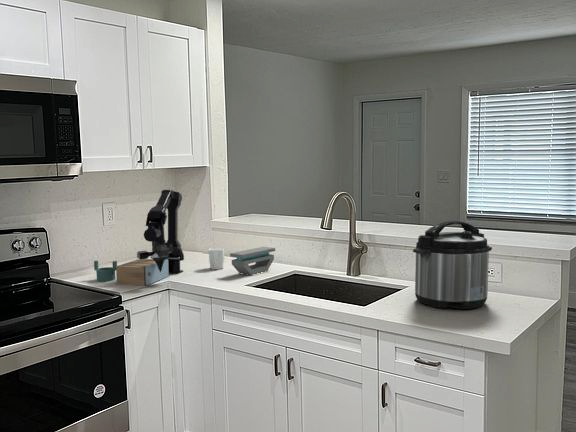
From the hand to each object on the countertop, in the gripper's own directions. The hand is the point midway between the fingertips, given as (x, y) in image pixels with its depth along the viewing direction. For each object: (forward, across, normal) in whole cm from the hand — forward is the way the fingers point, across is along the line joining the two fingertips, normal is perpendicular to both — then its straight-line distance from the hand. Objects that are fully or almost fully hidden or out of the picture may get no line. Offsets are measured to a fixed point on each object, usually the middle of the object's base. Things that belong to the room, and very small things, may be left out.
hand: (160, 271), depth 263 cm
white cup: (+7, +34, +18) cm, 40 cm away
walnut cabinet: (+5, -6, +10) cm, 12 cm away
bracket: (+5, -20, +20) cm, 28 cm away
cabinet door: (+5, 0, +4) cm, 6 cm away
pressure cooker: (+8, +87, -91) cm, 126 cm away
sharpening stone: (+7, +46, 0) cm, 47 cm away
